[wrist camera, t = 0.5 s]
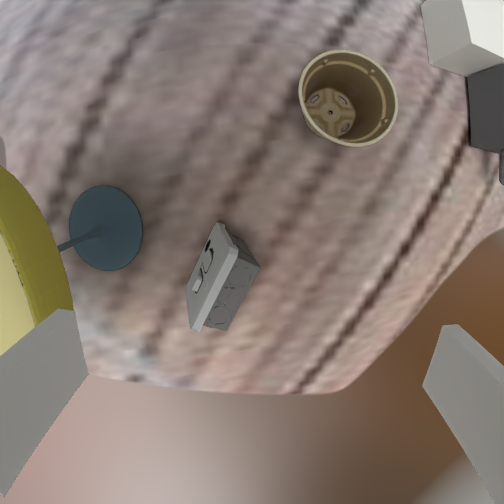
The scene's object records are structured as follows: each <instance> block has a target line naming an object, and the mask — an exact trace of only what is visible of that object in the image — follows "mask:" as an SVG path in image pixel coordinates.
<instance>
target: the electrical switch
mask: <svg viewBox="0 0 504 504" xmlns="http://www.w3.org/2000/svg"><path fill="white" fill-rule="evenodd" d="M250 263H251V264H250ZM253 264H254V265H253ZM255 265H257V266H255ZM258 266H260V265H259V264H258V262H257V261H256V259H255V258H254V256H253V255H252V253H251V252H250V250H249V249H248V247H247V245H246V244H245V242H244V241H243V240H241V239H238V238H236V237H235V236H233V235H231V234H228V233H227V232H226V230H225V225H224V224H222V223H219V222H217V223H216V224H215V225H214V227H213V229H212V231H211V233H210V235H209V237H208V240H207V242H206V244H205V246H204V248H203V250H202V252H201V255H200V257H199V259H198V261H197V263H196V265H195V268H194V270H193V272H192V274H191V276H190V279H189V281H188V283H187V286H186V300H187V308H188V316H189V324H190V329H192V330H195V331H197V332H200V330H201V328H202V326H207V327H210V328H218V329H221V330H225V331H227V330H228V328H229V326H230V324H231V322H232V320H233V318H234V317H235V315H236V313H237V311H238V309H239V307H240V305H241V303H242V302H243V300H244V298H245V296H246V294H247V292H248V290H249V289H250V287H251V285H252V283H253V281H254V279H255V277H256V275H257V274H258V272H259V270H260V267H258ZM226 286H227V288H226ZM230 287H233V288H235V289H233V288H230ZM219 301H220V302H219ZM224 303H226V304H224Z"/></svg>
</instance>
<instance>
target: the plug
mask: <svg viewBox="0 0 504 504" xmlns="http://www.w3.org/2000/svg"><path fill="white" fill-rule="evenodd" d="M467 81H468V91H469V103H470V121H471V146H473V147H477V148H480V149H484V150H488V151H491V152H495V153H498V154H500V166H499V181H500V183H501V184H502V185H504V64H502V65H499V66H495V67H492V68H489V69H486V70H483V71H481V72H479V73H476V74H473V75H471V76H468V77H467Z"/></svg>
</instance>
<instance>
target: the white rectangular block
mask: <svg viewBox="0 0 504 504" xmlns="http://www.w3.org/2000/svg"><path fill="white" fill-rule="evenodd" d="M420 7H421V12H422V17H423V23H424V29H425V35H426V41H427V48H428V56H429V65H431V66H435V67H438V68H441V69H444V70H447V71H450V72H453V73H456V74H459V75H462V76H465V77H468V76H471V75H473V74H476V73H479V72H481V71H483V70H486V69H489V68H492V67H495V66H499V65H502V64H504V2H503V1H501V0H426V1H425V2H424V3H423V4H422V5H421V6H420Z"/></svg>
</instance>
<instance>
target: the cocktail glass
mask: <svg viewBox="0 0 504 504" xmlns="http://www.w3.org/2000/svg"><path fill="white" fill-rule="evenodd" d="M69 229H70V236H71V240H70V241H68V242H65V243H63V244H61V245H59V246H57V245H56V243H55V240H54V238H53V235H52V233H51V231H50V228H49V227H48V225H47V223H46V221H45V219H44V217H43V215H42V213H41V211H40V209H39V208H38V206H37V205H36V203H35V202H34V200H33V199H32V197H31V196H30V194H29V193H28V191H27V190H26V189H25V188H24V186H23V185H22V184H21V183H20V182H19V181H18V180H17V179H16V178H15V177H14V175H12V174H11V173H10V172H8V171H7V170H6V169H4V168H3V167H2V166H0V356H1V355H2V354H4V353H5V352H6V351H7V350H8V349H9V348H11V347H12V346H13V345H14V344H15V343H16V342H18V341H19V340H20V339H21V338H22V337H24V336H25V335H26V334H27V333H28V332H30V331H31V330H32V329H33V328H35V327H36V326H37V325H38V324H40V323H41V322H42V321H43V320H44V319H46V318H47V317H48V316H50V315H51V314H52V313H53V312H55V311H56V310H57V309H58V308H59V309H65V310H71V311H74V309H73V301H72V296H71V292H70V287H69V283H68V278H67V274H66V271H65V268H64V265H63V262H62V259H61V256H60V252H61V251H63V250H65V249H67V248H69V247H72V246H74V247H75V249H76V251H77V253H78V254H79V255H80V257H81V258H82V259H83V260H84V261H85V262H87V263H88V264H89V265H91V266H93V267H94V268H97V269H100V270H105V271H112V270H117V269H120V268H123V267H124V266H126V265H127V264H128V263H130V262H131V261H132V260H133V258H134V257H135V256H136V254H137V252H138V250H139V248H140V245H141V241H142V231H143V229H142V221H141V217H140V214H139V212H138V209H137V207H136V206H135V204H134V203H133V201H132V200H131V199H130V198H129V197H128V196H127V195H126V194H125V193H124V192H122V191H120V190H119V189H116V188H114V187H110V186H97V187H93V188H91V189H89V190H87V191H86V192H84V193H83V194H82V195H81V196H80V197H79V198H78V200H77V201H76V202H75V204H74V206H73V208H72V211H71V215H70V221H69Z"/></svg>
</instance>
